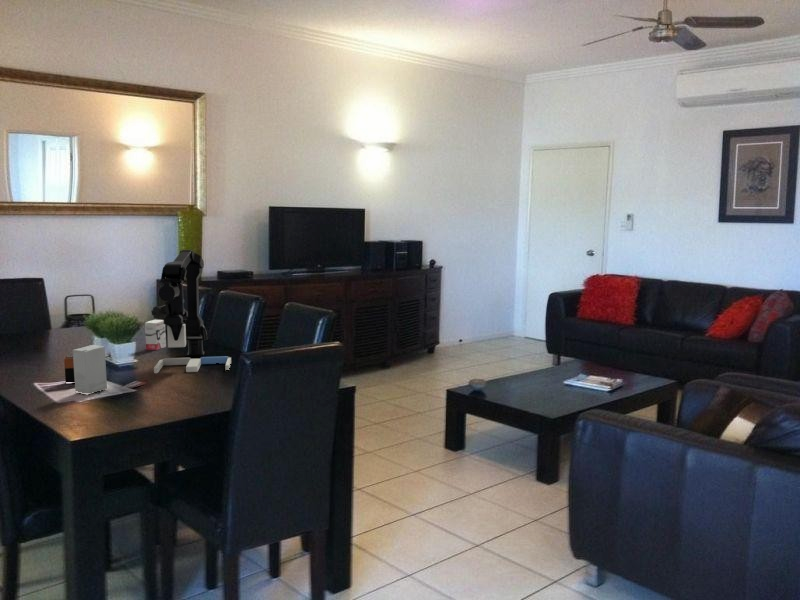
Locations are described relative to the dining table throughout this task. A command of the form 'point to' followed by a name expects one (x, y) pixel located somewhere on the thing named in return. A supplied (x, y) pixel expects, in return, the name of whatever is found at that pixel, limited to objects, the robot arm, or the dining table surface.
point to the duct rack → (193, 362)
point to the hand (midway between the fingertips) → (177, 339)
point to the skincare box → (90, 369)
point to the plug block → (181, 340)
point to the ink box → (155, 334)
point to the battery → (69, 368)
